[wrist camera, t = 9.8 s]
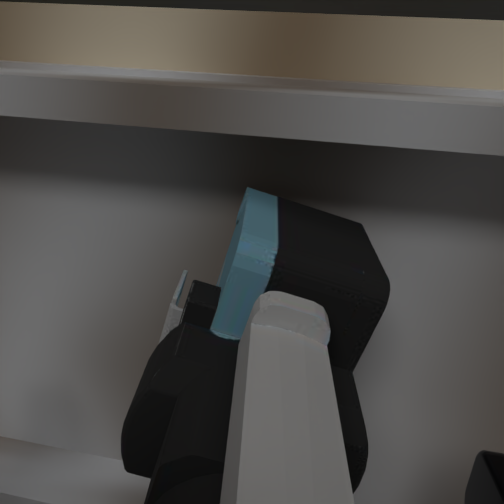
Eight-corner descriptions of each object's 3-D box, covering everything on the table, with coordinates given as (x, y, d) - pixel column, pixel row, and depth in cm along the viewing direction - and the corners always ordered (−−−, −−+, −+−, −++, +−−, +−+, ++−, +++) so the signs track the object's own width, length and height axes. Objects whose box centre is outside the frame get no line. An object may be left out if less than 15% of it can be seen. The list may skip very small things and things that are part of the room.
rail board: (812, 36, 7) (1082, 27, 5) (570, 548, 12) (633, 690, 9) (-157, -1, 10) (-341, -21, 7) (-44, 424, 15) (-132, 507, 12)
